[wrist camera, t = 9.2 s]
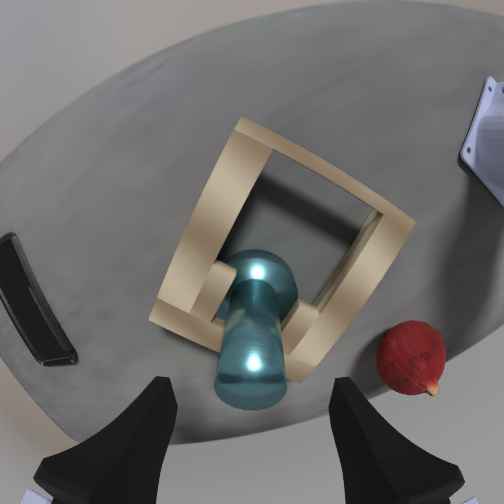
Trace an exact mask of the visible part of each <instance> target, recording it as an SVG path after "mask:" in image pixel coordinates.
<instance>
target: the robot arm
mask: <svg viewBox="0 0 504 504" xmlns="http://www.w3.org/2000/svg"><path fill="white" fill-rule="evenodd" d="M488 88H489V89H488ZM467 148H468V152H467ZM460 156H461V159H462V160H463V161H464V162H465V163H466V164H467V165H468V166H469V167H470V169H471V170H472V171H473V172H474V173H475V174H476V175H477V176H478V177H479V178H480V180H481V181H482V182H483V183H484V184H485V185H486V186H487V188H488V189H489V190H490V191H491V192H492V194H493V195H494V196H495V197H496V199H497V200H498V201H499V202H500V204H501V205H502V206H503V207H504V82H500V83H496V81H495V80H494V79H493V78H492V77H487V78H486V82H485V85H484V89H483V92H482V95H481V98H480V101H479V104H478V107H477V110H476V113H475V116H474V119H473V122H472V124H471V127H470V130H469V132H468V135H467V137H466V140H465V142H464V145H463V147H462V150H461V153H460ZM177 408H178V406H177V402H176V399H175V396H174V392H173V389H172V385H171V382H170V378H169V377H159V376H156V377H155V378H154V379H153V380H152V382H151V383H150V384H149V385H148V386H147V387H146V388H145V389H144V391H143V392H142V393H141V394H140V395H139V396H138V397H137V398H136V399H135V400H134V401H133V402H132V403H131V404H130V405H129V406H128V407H127V408H126V409H125V410H124V411H123V412H122V413H121V414H120V415H119V416H118V417H117V418H116V419H114V420H113V421H112V422H111V423H110V424H109V425H107V426H106V427H105V428H103V429H102V430H101V431H99V432H98V433H96V434H95V435H93V436H92V437H90V438H89V439H87V440H85V441H84V442H82V443H80V444H78V445H77V446H74V447H72V448H70V449H68V450H66V451H64V452H61V453H58V454H55V455H53V456H50V457H46V458H43V460H42V462H41V464H40V466H39V468H38V469H37V471H36V474H35V475H34V477H33V478H34V481H35V482H36V483H37V484H38V485H39V486H40V487H41V488H43V489H44V490H45V491H46V492H48V493H49V494H50V495H51V496H53V497H54V498H53V500H52V501H50V500H49V499H47V498H45V497H43V496H42V495H40V494H38V493H36V492H35V491H33V490H31V489H30V488H28V489H27V491H26V493H25V495H24V498H23V500H22V502H21V504H156V498H157V491H158V484H159V478H160V472H161V468H162V463H163V460H164V457H165V454H166V451H167V447H168V445H169V441H170V438H171V435H172V432H173V429H174V425H175V420H176V414H177ZM329 415H330V423H331V428H332V432H333V436H334V440H335V444H336V447H337V451H338V455H339V459H340V463H341V467H342V472H343V480H344V489H345V500H346V504H450V503H451V502H450V500H449V497H450V496H452V495H453V494H454V493H455V492H456V491H458V490H459V489H460V488H461V487H462V486H463V484H464V483H465V481H464V478H463V476H462V473H461V471H460V469H459V468H458V466H457V465H454V464H452V463H449V462H447V461H444V460H442V459H440V458H437V457H436V456H434V455H432V454H430V453H428V452H426V451H425V450H423V449H421V448H420V447H418V446H417V445H415V444H414V443H412V442H411V441H409V440H408V439H407V438H405V437H404V436H403V435H402V434H400V433H399V432H398V431H397V430H396V429H395V428H393V427H392V426H391V425H390V424H389V423H388V422H387V421H386V420H385V419H384V418H383V417H382V416H381V415H380V414H379V413H378V412H377V411H376V409H375V408H374V407H373V406H372V405H371V404H370V403H369V401H368V400H367V399H366V398H365V396H364V395H363V394H362V393H361V391H360V390H359V389H358V388H357V386H356V385H355V384H354V382H353V381H352V380H351V378H350V377H342V378H335V382H334V387H333V391H332V395H331V399H330V403H329ZM461 504H478V501H477V498H476V497H472V498H471V499H469V500H467V501H465V502H463V503H461Z"/></svg>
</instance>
